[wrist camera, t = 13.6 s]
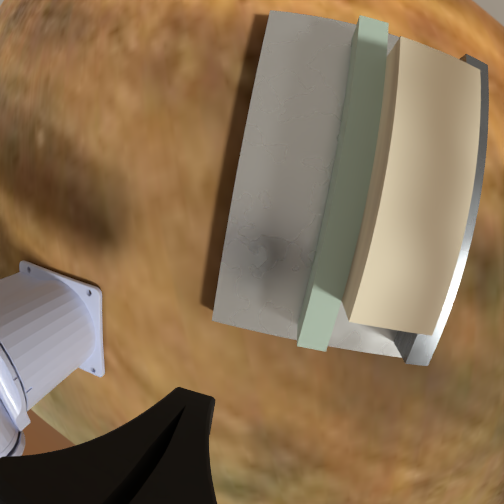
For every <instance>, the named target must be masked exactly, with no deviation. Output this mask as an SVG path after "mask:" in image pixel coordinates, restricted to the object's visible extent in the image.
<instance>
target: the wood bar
mask: <svg viewBox="0 0 504 504" xmlns="http://www.w3.org/2000/svg"><path fill="white" fill-rule="evenodd" d="M480 109H481V78H480V69H478V68H476V67H474V66H472V65H470V64H468V63H466V62H463V61H461V60H459V59H457V58H455V57H453V56H450V55H448V54H446V53H444V52H441V51H439V50H436V49H434V48H431V47H429V46H426V45H424V44H421V43H418V42H416V41H413V40H410V39H407V38H404V37H401V36H400V38H399V39H398V41H397V42H396V44H395V45H394V47H393V48H392V50H391V51H390V53H389V54H388V56H387V58H386V70H385V81H384V91H383V100H382V108H381V116H380V123H379V130H378V137H377V144H376V150H375V156H374V162H373V168H372V173H371V179H370V184H369V189H368V194H367V199H366V204H365V209H364V214H363V218H362V223H361V227H360V232H359V236H358V240H357V244H356V248H355V252H354V256H353V260H352V264H351V268H350V272H349V276H348V279H347V283H346V287H345V290H344V294H343V297H342V304H343V307H344V309H345V312H346V315H347V318H348V321H349V322H353V323H358V324H364V325H369V326H375V327H381V328H386V329H392V330H398V331H404V332H411V333H417V334H424V335H430V336H432V335H433V332H434V330H435V327H436V325H437V322H438V319H439V317H440V314H441V311H442V308H443V305H444V302H445V300H446V297H447V294H448V291H449V287H450V284H451V281H452V278H453V274H454V271H455V268H456V264H457V260H458V257H459V253H460V249H461V245H462V241H463V237H464V233H465V228H466V224H467V219H468V214H469V209H470V203H471V198H472V192H473V186H474V179H475V172H476V164H477V155H478V144H479V131H480Z"/></svg>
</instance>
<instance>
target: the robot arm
mask: <svg viewBox="0 0 504 504" xmlns="http://www.w3.org/2000/svg"><path fill="white" fill-rule="evenodd" d="M30 269H31V270H30ZM19 270H20V272H19V273H16V274H13V275H11V276H8V277H5V278H3V279H0V504H217V501H216V497H215V492H214V487H213V482H212V475H211V468H210V457H209V435H210V430H211V424H212V418H213V412H214V406H215V399H214V398H213V397H212V396H208V395H204V394H201V393H197V392H194V391H191V390H187V389H184V388H181V387H177V388H175V389H174V390H173V391H172V392H171V393H169V394H168V395H167V396H166V397H164V398H163V399H162V400H160V401H159V402H158V403H156V404H155V405H154V406H152V407H151V408H149V409H148V410H146V411H145V412H144V413H142V414H141V415H139V416H138V417H136V418H134V419H133V420H131V421H129V422H127V423H126V424H124V425H122V426H120V427H119V428H117V429H115V430H113V431H111V432H109V433H107V434H105V435H102V436H100V437H98V438H95V439H93V440H90V441H88V442H85V443H82V444H79V445H76V446H73V447H69V448H66V449H62V450H58V451H53V452H47V453H42V454H36V455H26V456H21V455H22V453H23V450H24V447H25V436H24V433H23V431H22V430H23V429H24V428H25V427H26V426H27V425H28V424H29V423H30V419H29V417H28V415H27V411H28V410H29V409H30V408H32V407H33V406H34V405H35V404H36V403H37V402H38V401H40V400H41V399H42V398H43V397H44V396H45V395H46V394H48V393H49V392H50V391H51V390H52V389H53V388H54V387H56V386H57V385H58V384H59V383H60V382H61V381H63V380H64V379H65V378H66V377H67V376H68V375H70V374H71V373H72V372H73V371H74V370H75V369H77V368H78V367H79V368H81V369H83V370H85V371H87V372H89V373H92V374H94V375H96V376H98V377H102V376H103V375H104V374H105V368H104V353H103V332H102V292H101V290H100V289H99V288H98V287H96V286H93V285H90V284H87V283H84V282H81V281H78V280H75V279H73V278H70V277H67V276H64V275H61V274H59V273H56V272H53V271H51V270H48V269H45V268H43V267H40V266H37V265H35V264H32V263H30V262H27V261H25V260H23V261H21V262H20V264H19ZM89 290H90V291H91V294H90V292H89ZM94 369H95V370H94Z"/></svg>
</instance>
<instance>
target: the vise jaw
mask: <svg viewBox="0 0 504 504" xmlns="http://www.w3.org/2000/svg"><path fill="white" fill-rule="evenodd" d="M387 43H388V23H386V22H383V21H379V20H376V19H372V18H368V17H364V16H361V15H360V16H359V19H358V22H357V25H356V28H355V31H354V34H353V38H352V47H351V56H350V64H349V72H348V79H347V86H346V94H345V100H344V107H343V114H342V120H341V126H340V132H339V138H338V144H337V150H336V155H335V161H334V166H333V172H332V177H331V182H330V187H329V192H328V197H327V202H326V207H325V212H324V217H323V221H322V226H321V231H320V235H319V240H318V244H317V248H316V253H315V257H314V261H313V266H312V270H311V274H310V278H309V282H308V286H307V290H306V294H305V298H304V302H303V306H302V310H301V314H300V317H299V321H298V325H297V346H299V347H305V348H310V349H315V350H320V351H326V349H327V346H328V343H329V340H330V337H331V334H332V331H333V328H334V324H335V321H336V318H337V314H338V311H339V308H340V304H341V301H342V297H343V294H344V290H345V287H346V283H347V279H348V276H349V272H350V268H351V264H352V260H353V256H354V252H355V248H356V244H357V240H358V236H359V232H360V227H361V223H362V218H363V214H364V209H365V204H366V199H367V194H368V189H369V184H370V179H371V173H372V168H373V162H374V156H375V150H376V144H377V137H378V130H379V123H380V116H381V108H382V100H383V91H384V81H385V70H386V58H387Z"/></svg>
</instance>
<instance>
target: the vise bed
mask: <svg viewBox="0 0 504 504" xmlns="http://www.w3.org/2000/svg"><path fill="white" fill-rule="evenodd" d="M355 28H356V25H355V24H351V23H347V22H342V21H337V20H333V19H327V18H322V17H317V16H311V15H304V14H297V13H290V12H281V11H272V10H270V14H269V18H268V23H267V27H266V31H265V36H264V40H263V45H262V50H261V54H260V59H259V63H258V68H257V73H256V78H255V82H254V87H253V92H252V97H251V102H250V107H249V112H248V117H247V122H246V127H245V132H244V137H243V142H242V147H241V153H240V158H239V163H238V169H237V174H236V179H235V185H234V190H233V196H232V202H231V207H230V213H229V219H228V224H227V230H226V236H225V242H224V248H223V254H222V260H221V266H220V272H219V279H218V285H217V291H216V298H215V304H214V311H213V317H212V321H215V322H219V323H223V324H227V325H231V326H236V327H240V328H244V329H248V330H253V331H257V332H262V333H266V334H271V335H275V336H280V337H285V338H289V339H294V340H297V325H298V321H299V317H300V314H301V310H302V306H303V302H304V298H305V294H306V290H307V286H308V282H309V278H310V274H311V270H312V266H313V261H314V257H315V253H316V248H317V244H318V240H319V235H320V231H321V226H322V221H323V217H324V212H325V207H326V202H327V197H328V192H329V187H330V182H331V177H332V172H333V166H334V161H335V155H336V150H337V144H338V138H339V132H340V126H341V120H342V114H343V107H344V100H345V94H346V86H347V79H348V72H349V64H350V56H351V47H352V38H353V34H354V31H355ZM399 38H400V37H397V36H394V35H391V34H388V43H387V56H388V54H389V53H390V51H391V50H392V48H393V47H394V45H395V44H396V42H397V41H398V39H399ZM459 60H461V61H463V62H466V63H468V64H470V65H472V66H474V67H476V68H478V69H480V78H481V109H480V131H479V144H478V155H477V164H476V172H475V179H474V186H473V192H472V198H471V203H470V209H469V214H468V219H467V224H466V228H465V233H464V237H463V241H462V245H461V249H460V253H459V257H458V260H457V264H456V268H455V271H454V274H453V278H452V281H451V284H450V287H449V291H448V294H447V297H446V300H445V302H444V305H443V308H442V311H441V314H440V317H439V319H438V322H437V325H436V327H435V330H434V332H433V335H432V336H430V335H424V334H417V333H411V332H404V331H398V330H392V329H386V328H381V327H375V326H369V325H364V324H358V323H353V322H349V321H348V318H347V315H346V312H345V309H344V307H343V304H342V301H341V304H340V308H339V311H338V314H337V318H336V321H335V324H334V328H333V331H332V334H331V337H330V340H329V343H328V346H331V347H337V348H342V349H348V350H354V351H360V352H367V353H373V354H380V355H387V356H394V357H402V358H403V360H404V362H405V363H406V364H414V365H423V366H428V364H429V362H430V360H431V357H432V355H433V353H434V351H435V348H436V346H437V344H438V341H439V339H440V336H441V334H442V331H443V329H444V326H445V324H446V321H447V318H448V316H449V313H450V310H451V308H452V305H453V302H454V299H455V296H456V293H457V290H458V287H459V284H460V280H461V277H462V274H463V270H464V267H465V263H466V260H467V256H468V252H469V248H470V244H471V240H472V236H473V231H474V227H475V222H476V217H477V212H478V207H479V201H480V195H481V189H482V183H483V175H484V167H485V158H486V148H487V134H488V110H489V88H488V65H487V64H485V63H483V62H481V61H479V60H477V59H475V58H473V57H471V56H469V55H467V54H465V55H464V56H463V57H461V58H460V59H459Z"/></svg>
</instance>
